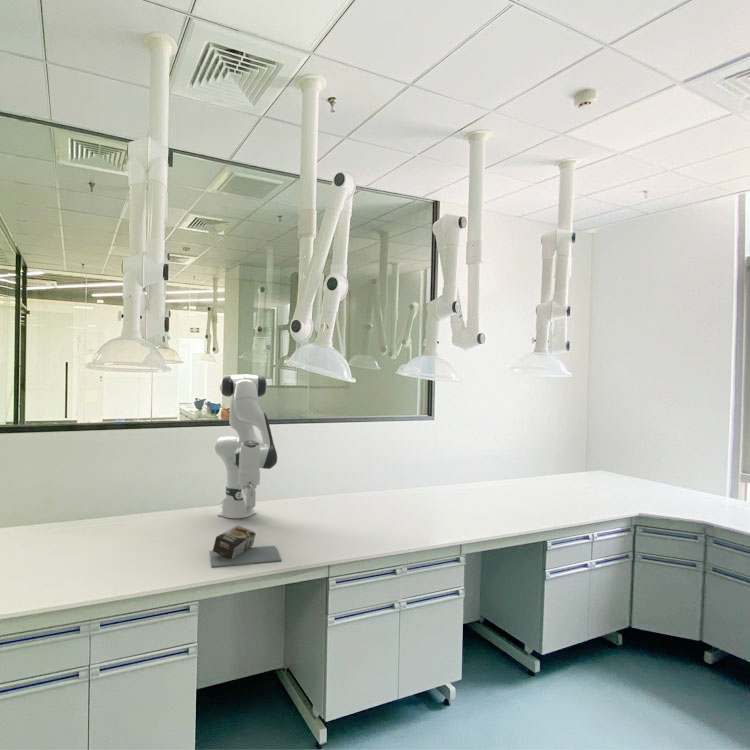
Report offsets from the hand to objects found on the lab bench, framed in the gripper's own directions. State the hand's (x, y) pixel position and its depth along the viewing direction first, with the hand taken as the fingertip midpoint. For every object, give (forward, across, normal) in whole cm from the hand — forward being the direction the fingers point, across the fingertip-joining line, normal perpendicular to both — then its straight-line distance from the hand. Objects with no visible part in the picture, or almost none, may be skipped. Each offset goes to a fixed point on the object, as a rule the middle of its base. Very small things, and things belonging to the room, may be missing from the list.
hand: (247, 512), depth 217 cm
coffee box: (+9, -2, +1) cm, 9 cm away
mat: (+14, -14, +2) cm, 19 cm away
